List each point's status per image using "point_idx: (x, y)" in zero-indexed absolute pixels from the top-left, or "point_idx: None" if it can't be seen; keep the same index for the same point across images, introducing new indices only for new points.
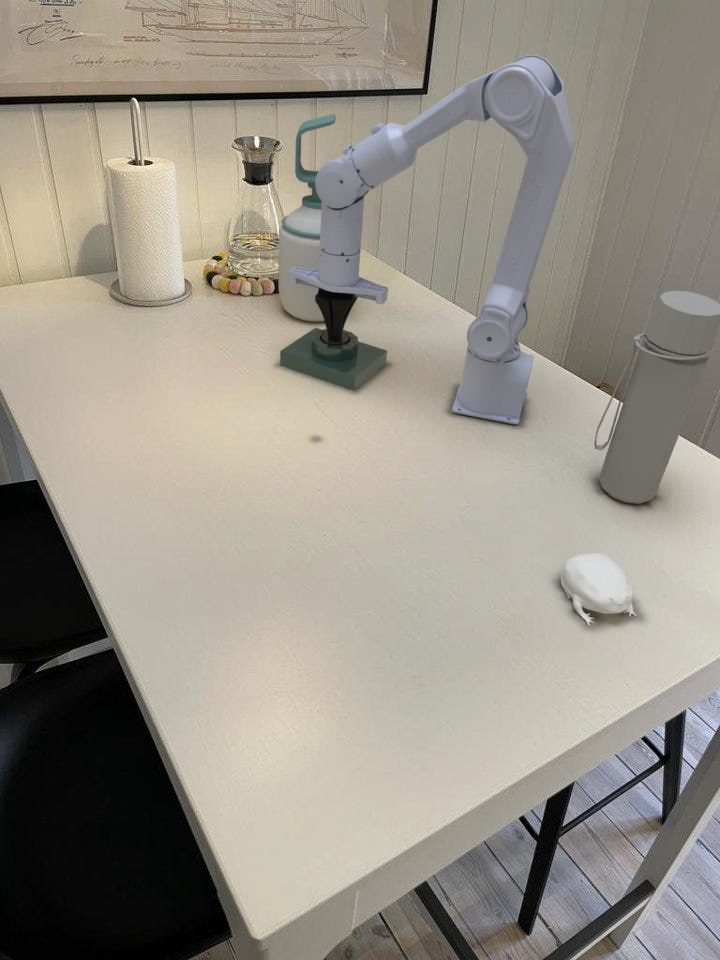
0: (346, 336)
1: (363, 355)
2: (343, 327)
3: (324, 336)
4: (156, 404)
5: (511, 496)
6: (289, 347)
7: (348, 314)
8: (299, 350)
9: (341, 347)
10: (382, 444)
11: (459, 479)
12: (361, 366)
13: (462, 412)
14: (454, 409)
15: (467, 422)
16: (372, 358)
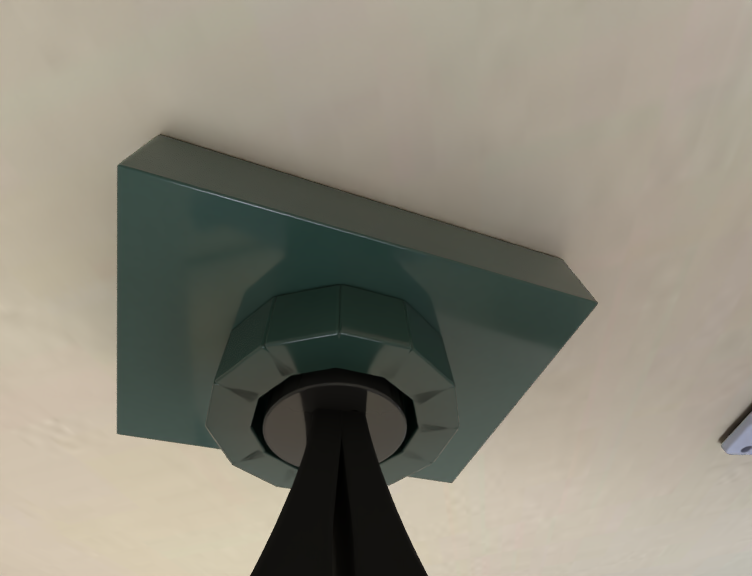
0: (393, 412)
1: (476, 373)
2: (375, 457)
3: (278, 440)
4: (2, 567)
5: (715, 572)
6: (134, 407)
7: (411, 546)
8: (189, 413)
9: (387, 476)
10: (515, 544)
11: (642, 567)
12: (470, 437)
13: (748, 454)
14: (731, 451)
15: (741, 459)
16: (516, 384)
